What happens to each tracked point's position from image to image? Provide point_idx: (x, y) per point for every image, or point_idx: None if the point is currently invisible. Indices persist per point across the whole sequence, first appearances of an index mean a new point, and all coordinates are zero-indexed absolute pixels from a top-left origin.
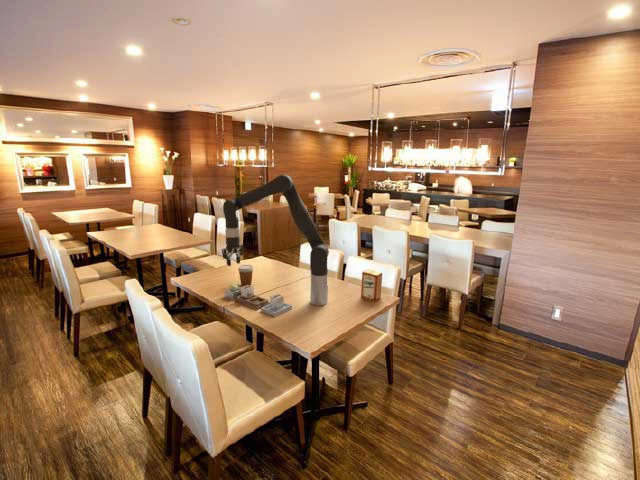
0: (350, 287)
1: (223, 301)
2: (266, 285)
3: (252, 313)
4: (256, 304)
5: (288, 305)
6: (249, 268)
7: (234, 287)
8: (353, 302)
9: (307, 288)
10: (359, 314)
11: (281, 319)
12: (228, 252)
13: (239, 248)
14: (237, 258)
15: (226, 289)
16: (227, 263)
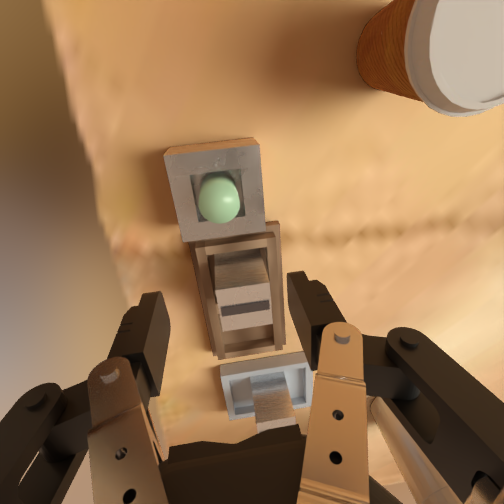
0: None
1: (137, 199)
2: (445, 158)
3: (186, 362)
4: (220, 357)
5: (305, 398)
6: (473, 109)
7: (209, 220)
8: None
9: (495, 307)
10: (387, 474)
11: (233, 424)
12: (130, 474)
13: (493, 460)
14: (305, 335)
15: (177, 160)
16: (129, 328)
